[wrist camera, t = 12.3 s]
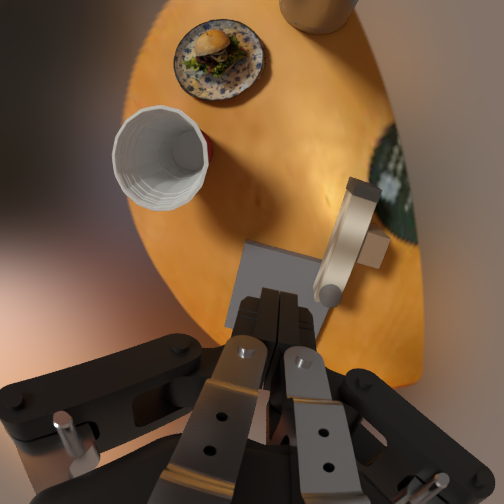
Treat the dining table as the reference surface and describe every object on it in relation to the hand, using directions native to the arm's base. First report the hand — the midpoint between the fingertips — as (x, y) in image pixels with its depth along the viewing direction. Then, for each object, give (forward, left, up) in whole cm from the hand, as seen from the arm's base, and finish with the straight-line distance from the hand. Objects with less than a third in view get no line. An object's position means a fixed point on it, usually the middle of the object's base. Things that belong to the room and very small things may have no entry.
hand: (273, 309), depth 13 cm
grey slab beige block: (+11, +5, -29) cm, 32 cm away
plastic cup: (-2, -13, -29) cm, 32 cm away
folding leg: (+4, +9, -27) cm, 29 cm away
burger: (-15, -12, -30) cm, 35 cm away
